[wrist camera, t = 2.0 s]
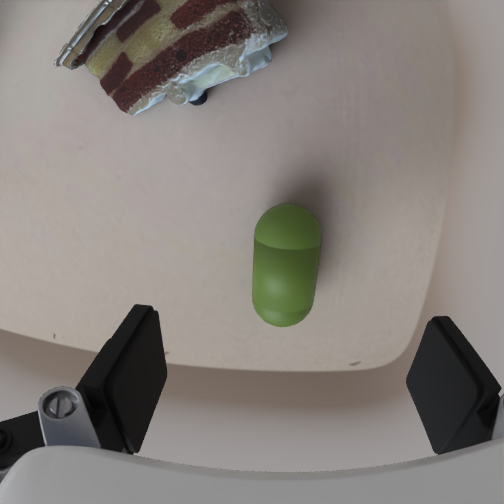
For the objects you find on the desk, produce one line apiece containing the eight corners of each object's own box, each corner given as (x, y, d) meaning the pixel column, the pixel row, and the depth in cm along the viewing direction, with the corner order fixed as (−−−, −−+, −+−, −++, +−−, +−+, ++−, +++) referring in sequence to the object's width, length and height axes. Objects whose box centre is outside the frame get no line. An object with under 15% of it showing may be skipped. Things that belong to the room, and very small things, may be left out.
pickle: (272, 194, 16) (243, 206, 14) (331, 203, 15) (314, 217, 12) (266, 301, 19) (240, 328, 16) (317, 314, 17) (298, 346, 15)
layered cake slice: (116, 163, 16) (258, 104, 7) (48, 73, 12) (116, -86, 3) (220, 81, 20) (373, 24, 11) (168, 7, 16) (298, -90, 7)
